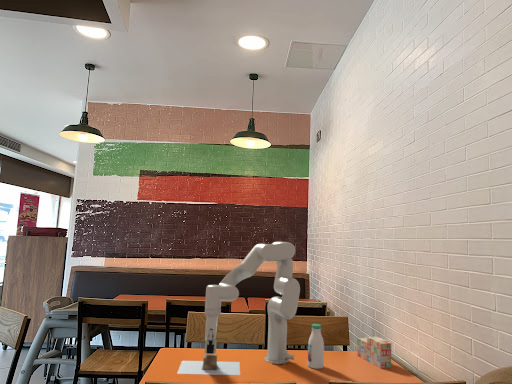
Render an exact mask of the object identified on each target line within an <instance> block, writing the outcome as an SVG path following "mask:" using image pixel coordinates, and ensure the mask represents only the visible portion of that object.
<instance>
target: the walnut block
mask: <svg viewBox="0 0 512 384" xmlns="http://www.w3.org/2000/svg"><path fill="white" fill-rule="evenodd" d="M202 361H203V369H209V370H216V367H217V361H218V353H216V354H205V353H204V355H203V360H202Z"/></svg>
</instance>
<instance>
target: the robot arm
mask: <svg viewBox="0 0 512 384" xmlns="http://www.w3.org/2000/svg"><path fill="white" fill-rule="evenodd" d="M295 254H296V247H295V246H294V244H293V243H291V242H288V241H274V242H272V243H257V244H256V245H254V246H253V248H251V250H250V252H248V253H247V254H246V256H245V257H244V259H243V260H242V261H241V262H240V264H238V265H237V266H236V267H234V268H233V269H232V270H230V272H228V273H227V274H226V275H225V276H224V278H223V279H222V280H221V281H220V282H219V283H218V284H208V285H207V286H206V288H205V300H204V316H206V319H205V332H204V333H205V334H204V338H205V339H206V337H208V344H207V354H213V353H214V338H216V336H217V333H218V332H217V329H218V321H219V317H220V316H221V314H222V313H221V311H222V308H221V307H222V301H224V302H234V301H236V300H237V299H238V298H239V296H240V291H239V289H238V288H237V287H236V285H237V284H239V283H240V282H241V281H244V280H245V279H248V278H250V277H252V276H254V275H255V273H256V272H257V271H258V270H259V268H260V267H261V266H262V264H263V263H265V262H276V272H275V276H274V283H273V289H274V292H275V293H276V294H279V295H281V296H273V297H271V298H270V299H269V301H268V302H267V307H266V308H267V315H268V317H267V319H268V325H267V326H268V328H267V329H268V331H267V354H266V355H265V356H264V357H263V358H264V361H265V362H267V363H271V364H272V365H285V364H287V363H289V362H290V360H292V361H294V360H295V355H294V354H291V353H290V354H289V351H288V350H287V337H288V332H287V331H288V322H287V320H292V319H293V318H294V317H295V315H296V314H297V310H298V305H299V300H300V299H299V298H300V294H301V293H300V292H301V287H300V283H299V281H298V280H297V279H296V278H294V277H293V273H294V262H293V259H292V258H293V257H294V256H295ZM212 337H213V338H212ZM212 339H213V340H212Z"/></svg>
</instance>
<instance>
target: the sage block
mask: <svg viewBox="0 0 512 384" xmlns="http://www.w3.org/2000/svg"><path fill="white" fill-rule="evenodd" d="M212 338H213V337H212ZM217 339H218V338H217V337H215V338H214V353H213V354H217V353H216V352H217ZM212 340H213V339H212ZM204 342H205V344H204V354H207V344H208V337H206V338H205V341H204Z"/></svg>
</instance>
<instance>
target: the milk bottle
mask: <svg viewBox="0 0 512 384" xmlns="http://www.w3.org/2000/svg"><path fill="white" fill-rule="evenodd" d="M321 330H322V325H321V324H319V323H312V324H311V334H310V335H309V339H308V346H307V366H308V367H309V368H311V369H317V370H320V369H323V368H324V364H325V363H324V362H325V361H324V360H325V358H324V356H325V343H324V338H323V335H322V331H321Z"/></svg>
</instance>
